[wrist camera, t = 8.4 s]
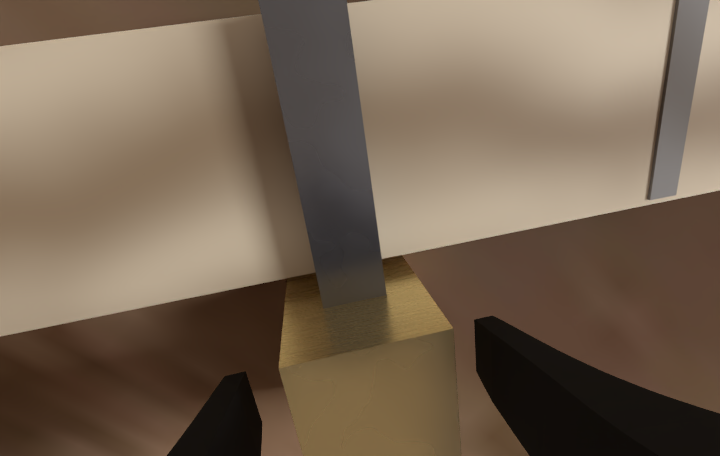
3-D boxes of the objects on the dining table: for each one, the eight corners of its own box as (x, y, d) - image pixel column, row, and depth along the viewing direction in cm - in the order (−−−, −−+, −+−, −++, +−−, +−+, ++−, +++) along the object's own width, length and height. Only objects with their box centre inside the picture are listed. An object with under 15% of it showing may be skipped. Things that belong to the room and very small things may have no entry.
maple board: (733, 170, 14) (786, 177, 12) (-31, 321, 11) (-84, 355, 9) (780, -38, 11) (853, -60, 10) (-178, 85, 8) (-282, 79, 7)
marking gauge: (409, 358, 14) (462, 478, 9) (314, 380, 14) (320, 517, 9) (369, 15, 10) (428, -74, 5) (230, 32, 10) (162, -46, 5)
